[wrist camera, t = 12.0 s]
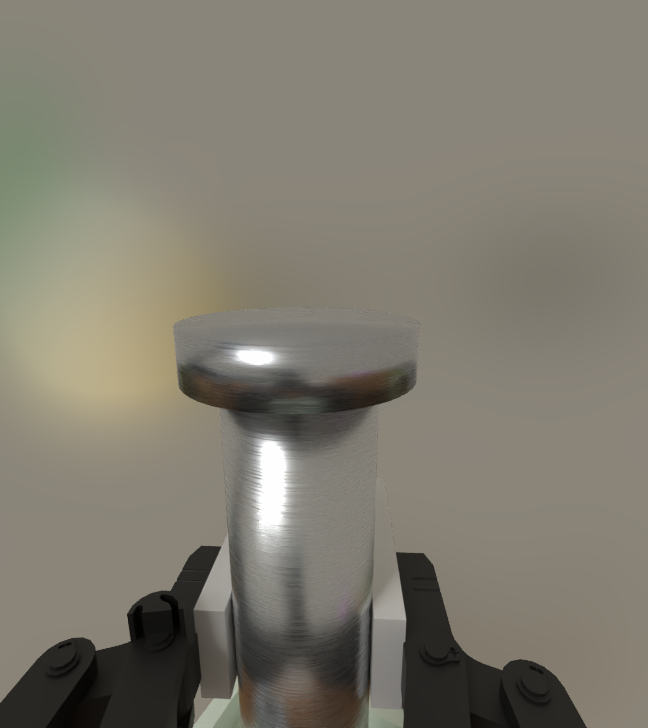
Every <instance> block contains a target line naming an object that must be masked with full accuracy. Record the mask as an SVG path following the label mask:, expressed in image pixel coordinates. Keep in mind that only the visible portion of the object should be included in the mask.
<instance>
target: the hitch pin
mask: <svg viewBox="0 0 648 728" xmlns="http://www.w3.org/2000/svg"><path fill="white" fill-rule="evenodd" d="M173 330H174V341H175V351H176V362H177V374H178V384H179V388H180V390H181V391H182V392H183V393H184V394H185V395H187V396H188V397H190V398H192V399H194V400H196V401H198V402H201V403H204V404H207V405H210V406H214V407H219V408H220V417H221V418H220V419H221V433H222V449H223V464H224V478H225V494H226V510H227V524H228V540H229V555H230V570H231V585H232V600H233V615H234V631H235V646H236V661H237V676H238V691H239V706H240V721H241V728H368V723H369V691H370V652H371V620H372V594H373V564H374V533H375V501H376V469H377V437H378V405H379V404H381V403H384V402H388V401H391V400H393V399H396V398H398V397H400V396H402V395H404V394H406V393H408V392H409V391H410V390H411V389H413V387H414V386H415V384H416V381H417V368H418V350H419V332H420V331H419V330H420V323H419V322H418V321H417V320H416V319H413V318H411V317H408V316H404V315H400V314H395V313H389V312H382V311H373V310H363V309H348V308H322V307H321V308H319V307H295V308H294V307H292V308H291V307H290V308H264V309H247V310H235V311H226V312H217V313H211V314H205V315H199V316H195V317H190V318H187V319H183V320H181V321H179V322H177V323H175V324H174V326H173Z"/></svg>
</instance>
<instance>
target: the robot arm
mask: <svg viewBox="0 0 648 728" xmlns="http://www.w3.org/2000/svg"><path fill="white" fill-rule="evenodd" d="M127 617H128V624H129V630H130V637H131V641H130V642H128V643H125V644H122V645H119V646H115V647H111V648H106V649H102V650H98V651H96V650H95V646H94V645H93V643H92V642H91V640H88V639H85V638H71V639H68V640H65V641H62V642H59V643H58V644H56V645H54V646H53V647H51V648H50V649H48V650H47V651H46V652H45V653H44V654H43V655H42V656H40V657H39V658H38V659H37V660H36V662H35V663H34V664H33V665H32V666H31V667H30V669H29V670H28V671H27V672H26V673H25V675H24V676H23V677H22V678H21V679H20V681H19V682H18V683H17V684H16V685H15V686H14V688H13V689H12V690H11V691H10V692H9V694H8V695H7V696H6V697H5V698H4V699H3V701H2V702H1V703H0V728H193V723H194V717H195V715H194V698H195V695H196V692H197V690H198V687H199V684H200V685H201V695H202V698H217V699H231V696H232V693H233V689H234V685H235V682H236V678H237V661H236V646H235V631H234V615H233V600H232V585H231V570H230V555H229V540H228V534H227V536H226V538H225V541H224V543H223V545H222V547H216V546H201V547H200V548H198V549H197V550H196V551H195V552H194V553H193V554H192V555H190V557H189V558H188V560H187V562H186V563H185V565H184V567H183V570H182V572H181V573H180V575H179V577H178V578H177V582H175V584H174V586H173V588H172V589H171V591H159V592H154V593H151V594H149V595H147V596H145V597H143V598H141V599H140V600H139V601H137V602H136V603H135V604H134V605H133V606H132V608H131V609H130V611H129V612H128V614H127ZM370 699H371V708H381V709H397V710H401V707H402V704H403V712H404V720H403V728H587V727H586V726H585V724H584V722H583V720H582V718H581V717H580V715H579V713H578V711H577V710H576V708H575V706H574V704H573V702H572V701H571V699H570V697H569V695H568V694H567V692H566V690H565V688H564V687H563V685H562V684H561V683H560V681H559V680H558V679H557V677H556V676H555V675H554V674H552V673H551V672H550V671H549V670H547V669H546V668H545V667H543V666H541V665H539V664H537V663H534V662H532V661H527V660H521V659H520V660H515V661H510V662H509V663H508V664H507V665H506V666H504V668H503V671H502V670H499V669H496V668H494V667H491V666H488V665H485V664H482V663H481V662H478V661H476V660H474V659H473V658H471V657H470V656H468V655H467V654H466V653H465V652H464V651H462V649H461V647H460V646H459V645H458V643H457V642H456V641H455V640H454V637H453V635H452V632H451V628H450V625H449V621H448V617H447V614H446V610H445V606H444V603H443V599H442V595H441V592H440V588H439V585H438V581H437V577H436V573H435V570H434V566H433V564H431V562H430V561H429V559H428V558H427V557H426V556H425V555H424V554H423V553H398V552H396V551H395V544H394V538H393V532H392V526H391V519H390V512H389V506H388V500H387V493H386V487H385V480H384V478H376V501H375V533H374V564H373V594H372V620H371V652H370Z"/></svg>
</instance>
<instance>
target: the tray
mask: <svg viewBox="0 0 648 728" xmlns="http://www.w3.org/2000/svg"><path fill="white" fill-rule="evenodd" d="M403 720H404V712H403V709H402V708H401V710H397V709H381V708H371V699H370V693H369V723H368V728H403ZM193 728H241V721H240V706H239V691H238V676H237V678H236V682H235V685H234V689H233V693H232V696H231V699H217V698H214V699H213V700H212V702H211V703H210V704H209V706H208V707H207V708H206V710H205V711H204V712H203V714H202V715H201V716H200V718H199V719H198V721H197V722H196V723H195V725H194V726H193Z"/></svg>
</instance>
